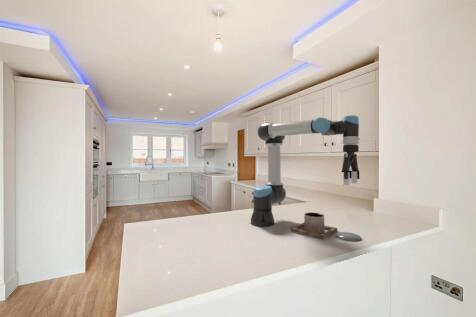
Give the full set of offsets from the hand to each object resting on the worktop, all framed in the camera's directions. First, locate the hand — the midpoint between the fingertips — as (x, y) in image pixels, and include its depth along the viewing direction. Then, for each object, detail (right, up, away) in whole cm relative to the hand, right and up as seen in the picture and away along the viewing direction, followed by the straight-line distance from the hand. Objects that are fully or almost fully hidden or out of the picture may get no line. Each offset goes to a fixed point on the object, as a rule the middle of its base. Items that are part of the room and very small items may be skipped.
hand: (350, 184), depth 119 cm
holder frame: (-17, -28, +7) cm, 33 cm away
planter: (-17, -28, +7) cm, 33 cm away
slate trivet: (-3, -28, -3) cm, 28 cm away
